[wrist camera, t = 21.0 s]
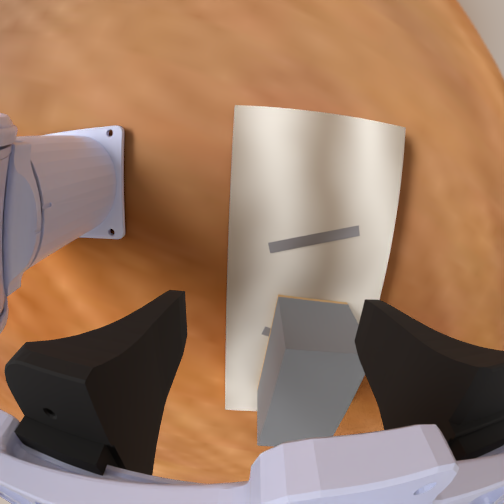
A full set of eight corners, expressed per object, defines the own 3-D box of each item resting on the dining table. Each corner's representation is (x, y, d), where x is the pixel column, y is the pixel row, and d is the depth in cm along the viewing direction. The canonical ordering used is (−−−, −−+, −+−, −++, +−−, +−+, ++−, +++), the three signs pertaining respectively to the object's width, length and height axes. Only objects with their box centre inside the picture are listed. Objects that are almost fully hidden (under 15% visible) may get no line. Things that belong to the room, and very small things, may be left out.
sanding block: (257, 388, 23) (257, 445, 18) (278, 294, 20) (285, 348, 15) (315, 392, 23) (326, 446, 18) (346, 302, 20) (374, 353, 15)
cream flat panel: (226, 400, 25) (225, 409, 24) (235, 108, 18) (234, 105, 16) (342, 400, 25) (344, 409, 24) (397, 128, 18) (405, 127, 17)
